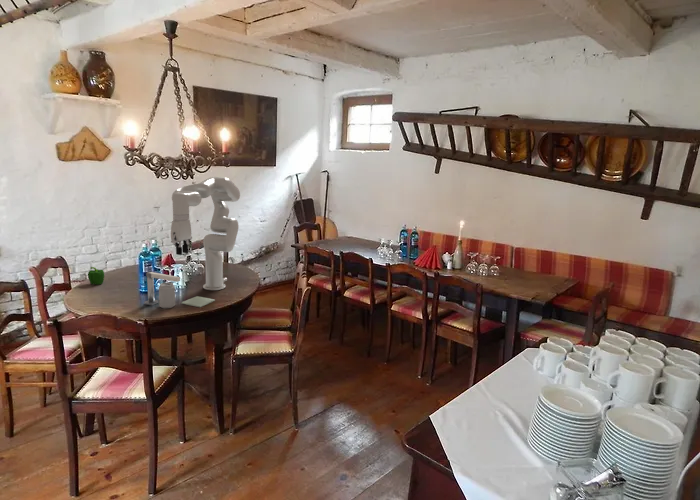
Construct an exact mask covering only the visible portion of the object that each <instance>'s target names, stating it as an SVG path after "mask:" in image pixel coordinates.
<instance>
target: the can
mask: <svg viewBox="0 0 700 500" xmlns="http://www.w3.org/2000/svg"><path fill="white" fill-rule="evenodd" d="M175 288H176V286H175V285H174V283H172V282H169V281H168V282H162V283H160V284H159V286H158V301H159V303H158V305H159V307H161V308H162V309H172V308H173V307H175V305H176V289H175Z"/></svg>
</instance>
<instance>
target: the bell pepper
mask: <svg viewBox="0 0 700 500" xmlns="http://www.w3.org/2000/svg"><path fill="white" fill-rule="evenodd" d="M87 278H88V281H89V283H90V284H91V285H97V286H98V285H101V284H103V283H104V281H105V271H104V270H103V269H99V268H98V269H97V268H96V267H95V266H92V267H91V266H90V269H89V271H88V273H87Z"/></svg>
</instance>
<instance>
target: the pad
mask: <svg viewBox="0 0 700 500" xmlns="http://www.w3.org/2000/svg"><path fill="white" fill-rule="evenodd" d="M213 302H216V299H213V298H209V297H204V296H198V295H196V296H194V297H191V298H189V299H187V300H184V301H182V302H181V304H182V305H187V306H190V307H191V306H193V307H197V308H202V307H204V306H206V305H209V304H212V303H213Z"/></svg>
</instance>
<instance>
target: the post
mask: <svg viewBox="0 0 700 500" xmlns="http://www.w3.org/2000/svg"><path fill="white" fill-rule="evenodd" d="M146 277H147V276H146ZM146 282H147V283H146V285H147V299H148V300H146V301H143V305H147V306H155V305H157V304H159V299H156V298H155V278H153V277H147V280H146Z"/></svg>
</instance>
